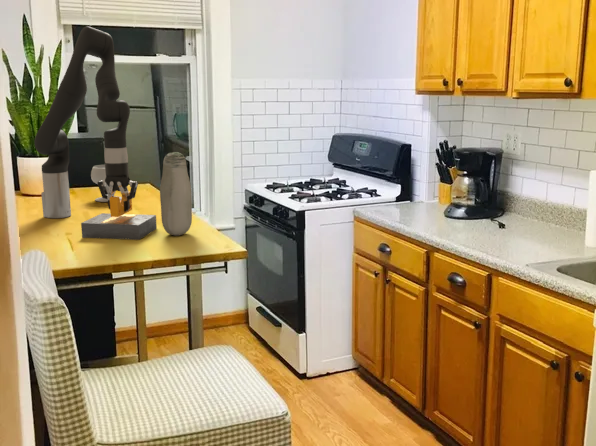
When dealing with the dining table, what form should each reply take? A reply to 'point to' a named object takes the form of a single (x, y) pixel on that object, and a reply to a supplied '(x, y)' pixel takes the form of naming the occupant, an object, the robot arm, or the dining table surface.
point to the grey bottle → (175, 195)
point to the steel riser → (119, 226)
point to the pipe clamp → (118, 206)
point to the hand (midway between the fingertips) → (119, 210)
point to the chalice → (100, 179)
